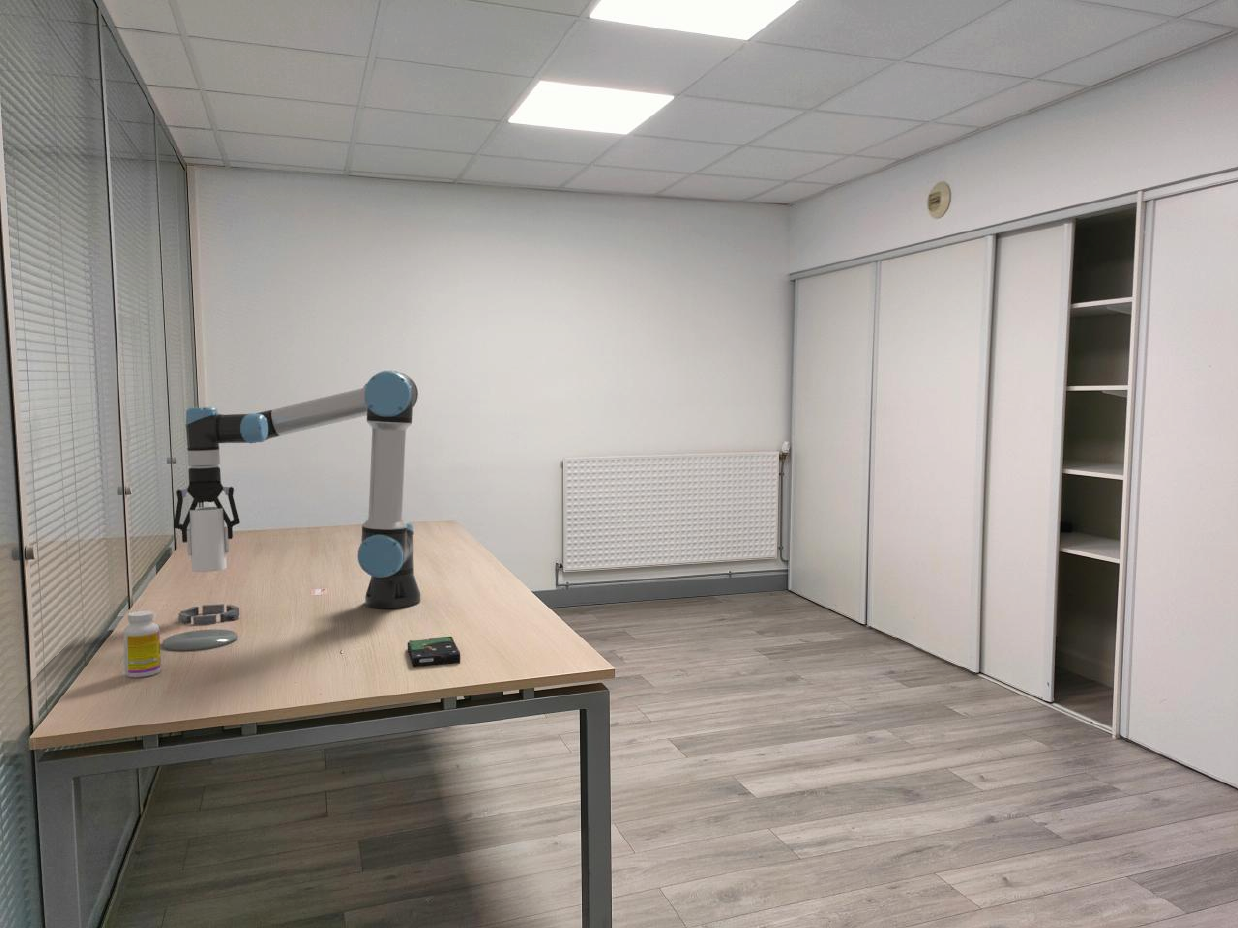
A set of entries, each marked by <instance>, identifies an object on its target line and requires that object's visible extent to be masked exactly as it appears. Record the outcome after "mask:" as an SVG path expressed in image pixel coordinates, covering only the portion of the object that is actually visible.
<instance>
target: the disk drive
mask: <svg viewBox="0 0 1238 928" xmlns="http://www.w3.org/2000/svg"><path fill="white" fill-rule="evenodd" d="M407 653H408V655H409V659H410V661H411V666H412V668H423V667H432V666H433V667H435V666H445V665H454V664H461V651H460V650H459V648H458V646H457V644H456V642H455V640H454V638H453V636H442V637H431V638H430V637H429V638H423V639H415V640H413V639H410V640H409V641H408V642H407Z"/></svg>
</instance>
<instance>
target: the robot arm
mask: <svg viewBox="0 0 1238 928" xmlns="http://www.w3.org/2000/svg"><path fill="white" fill-rule="evenodd" d="M418 395H419V393H418V387H417V384H416V383H415V381H414V380H413V379H412V378H411V377H410V376H408V375H407V374H405V373H402V372H400V371H399V372H398V371H396V370H383V371H379V372H378V373H376V374H374V375H373V376H371V378H369V379H368V382H367V383H365V384H364V385H363V386H362V388H359V389H353V390H350V391H345V392H339V393H337V394H332V395H328V396H325V397H324V396H323V397H320V398H316V399H311V400H307V401H302V402H300V403H299V402H298V403H296V404H295V403H294V404H291V405H286V406H281V407H278V408H273V409H269V410H264V411H260V412H256V413H236V414H235V413H233V414H221V413H220V414H219V411H218V408H217V407H214V406H208V407H207V406H206V407H205V406H204V407H203V406H202V407H196V406H195V407H189V408H187V409H186V411H185V431H186V432H185V433H186V434H185V435H186V447H187V448H186V450H187V451H186V453H187V454H186V455H187V466H188V467H189V468H188V470H187V471H188V472H187V473H188V486H187V488H184V489H180V488H179V489H177V490H176V492H175V494H176V497H177V502H176V507H175V508H176V510H175V514H174V522H173V528H174V529H178V530H180V531H181V541H182V543H186V544H187V556H188V557H189V556H191V540H190V528H188V526H190V523H189V522H190V510H195V509H196V508H197V506H198V504H199V503H200V504H201V503H202V504H203V503H214V504H215V507H217V508H218V509H221V508H223V519H224V523H225V524H226V526H224V528H225V548H226V553H229V552H230V550H229V548H230V547H229V540H232V539H233V538H234V532H233V528H234V526H236V525H239V524H240V518H239V514H238V509H237V507H236V502H235V497H234V494H235V493H234V492H235V488H234V486H230V487H229V486H223V484H222V480H221V479H222V478H221V468H220V467H219V466H218V465H220V464H221V461H220V460H221V459H220V458H221V457H220V444H255V443H263V442H265V441H267V440H269V439H273V438H277V437H280V436H284V435H289V434H293V433H298V432H301V431H306V430H309V429H310V430H311V429H313V428H319V427H322V426H324V427H325V426H328V425H332V424H336V423H341V422H344V421H345V422H346V421H349V420H353V419H357V418H361V417H366V422H367V424H368V425H369V426H370V427H371V428H372V429H371V450H370V451H371V452H370V454H371V455H370V474H369V493H368V495H369V496H368V497H369V498H368V499H369V500H368V515H367V516H368V517H367V519H366V520H365V521H364V522H363V523H362V524H361V539H360V541H361V542H360V544H359V547H358V550H357V556H356V557H357V562H358V564H359V567H360V568H361V570H362V571H363V572H365V573H366V575H369V576H370V580H369V583H368V586H367V589H366V593H365V596H364V600H365V601H364V604H365V606H367V607H370V608H377V609H396V608H397V609H399V608H404V607H406V608H407V607H411V606H415V605H417V604H419V603H420V602H421V591H420V589H419V586H418V583H417V580H416V578H415V575H414V574H415V571H414V530H413V529H414V528H413V523H411V522H410V521H404V520H403V499H404V477H405V476H404V475H405V457H406V456H405V455H406V454H405V453H406V437H407V435H406V432H407V429H408V428H410V426H411V425H412V424H413V408H414V406H416V403H417V401H418ZM222 492H224V494H225V495H226V496H228V497H227V498H228V502H229V506H230V509H231V513H232V517H233V519H232V520H231V518H230V517H229V515H228V514H227V512H226V510H225V508H224V507H223V504H222V503H221V501H220V498H219V496H220V495H221V493H222ZM187 493H188V494H189V495H190V496H191V497H192V498H193V500H192V502H191V504H190V507H189V509H188V512H187V514H186V516H185V518H184V520H183V523H180V521H181V516H182V509H183V503H184V502H183V501H184V499H185V497H186V496H187Z"/></svg>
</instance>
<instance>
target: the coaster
mask: <svg viewBox="0 0 1238 928" xmlns="http://www.w3.org/2000/svg"><path fill="white" fill-rule="evenodd" d="M237 640H238V633H237V632H235V631H233V630H229V629H201V630H192V631H187V632H182V633H176V634H174V635H171V636H169V637H166V638H164V639H163V640H162V643H161V644H162V648H164V649H165V650H167V651H176V652H192V651H194V652H195V651H205V650H210V649H216V648H221V647H224V646H227V645H230V644H232V643H234V642H236V641H237Z"/></svg>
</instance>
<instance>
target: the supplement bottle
mask: <svg viewBox="0 0 1238 928" xmlns="http://www.w3.org/2000/svg"><path fill="white" fill-rule="evenodd" d="M127 620H128V622H129V623H128V624H129V625H127V626H125V628H123V632H122V637H123V659H124V663H123V664H124V675H125V676H126V677H128V678H132V679H133V678H136V679H138V678H145V677H151V676H153V675H156V674H159V672H160V671H161V669H162V667H161V666H162V665H161V664H162V661H161V641H160V639H161V638H160V627H159V625H158V624H157V623H155V622H153V620H154V611H152V610H139V611H132V612H129V613H128V614H127Z"/></svg>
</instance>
